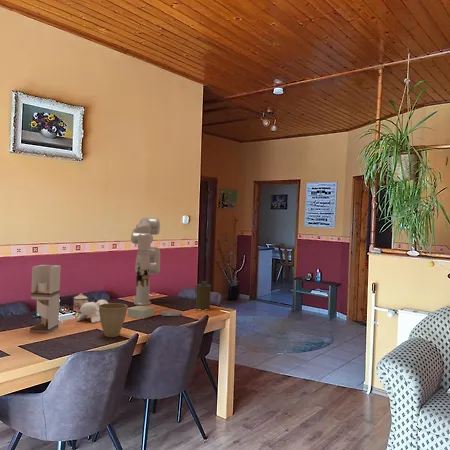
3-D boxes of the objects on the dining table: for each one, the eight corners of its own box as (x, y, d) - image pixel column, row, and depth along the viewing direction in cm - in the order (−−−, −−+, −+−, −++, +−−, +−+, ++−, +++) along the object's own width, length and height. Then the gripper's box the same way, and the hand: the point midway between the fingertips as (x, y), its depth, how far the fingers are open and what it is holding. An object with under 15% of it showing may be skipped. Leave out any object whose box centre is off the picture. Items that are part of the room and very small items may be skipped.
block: (127, 316, 274) (127, 308, 274) (138, 313, 285) (138, 305, 285) (143, 318, 269) (143, 310, 269) (153, 315, 280) (154, 307, 280)
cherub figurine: (113, 300, 270) (94, 302, 251) (111, 320, 269) (92, 324, 250) (95, 298, 274) (76, 300, 255) (93, 317, 273) (73, 321, 254)
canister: (211, 308, 311) (212, 280, 310) (209, 311, 300) (210, 282, 300) (196, 307, 312) (197, 280, 312) (193, 310, 301) (194, 281, 301)
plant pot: (99, 340, 218) (100, 309, 218) (96, 332, 232) (97, 303, 232) (128, 338, 224) (129, 307, 224) (123, 330, 238) (124, 302, 238)
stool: (135, 286, 275) (136, 275, 275) (141, 284, 281) (141, 274, 281) (143, 286, 273) (143, 276, 273) (148, 285, 278) (149, 275, 278)
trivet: (154, 315, 280) (154, 313, 280) (166, 311, 294) (166, 309, 294) (174, 318, 274) (174, 316, 274) (185, 313, 288) (185, 312, 288)
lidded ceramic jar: (69, 311, 282) (70, 293, 282) (79, 309, 290) (80, 292, 290) (83, 313, 277) (84, 295, 277) (93, 311, 285) (94, 293, 285)
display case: (39, 326, 240) (42, 264, 240) (58, 327, 240) (60, 265, 239) (29, 332, 229) (32, 266, 228) (49, 332, 228) (51, 267, 228)
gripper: (146, 251, 286) (145, 278, 286) (130, 253, 270) (129, 281, 271) (155, 252, 283) (154, 279, 283) (140, 253, 267) (139, 282, 268)
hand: (142, 280), depth 277 cm, fingers closed on stool, 6 cm apart
